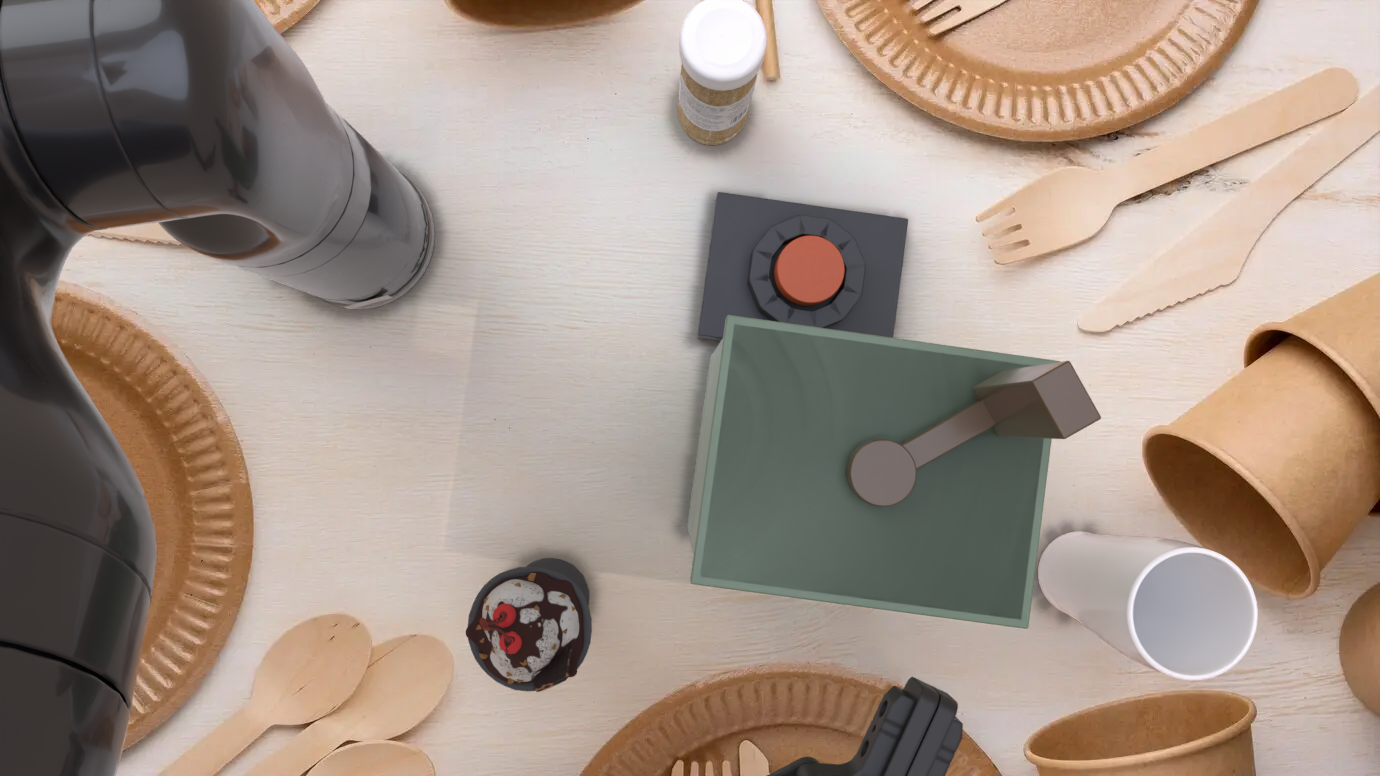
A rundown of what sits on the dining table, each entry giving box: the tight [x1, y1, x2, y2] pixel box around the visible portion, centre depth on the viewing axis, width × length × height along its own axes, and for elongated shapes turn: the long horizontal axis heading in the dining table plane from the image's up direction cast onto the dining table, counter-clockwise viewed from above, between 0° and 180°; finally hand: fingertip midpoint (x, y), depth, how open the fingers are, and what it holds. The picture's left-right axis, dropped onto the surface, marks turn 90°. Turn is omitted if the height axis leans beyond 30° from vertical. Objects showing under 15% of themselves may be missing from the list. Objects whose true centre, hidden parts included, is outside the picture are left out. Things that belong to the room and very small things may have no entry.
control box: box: [696, 191, 909, 342], centre depth 65 cm, size 12×9×4 cm
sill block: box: [686, 315, 1061, 630], centre depth 56 cm, size 15×12×22 cm
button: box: [774, 236, 845, 306], centre depth 63 cm, size 4×4×2 cm
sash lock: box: [846, 360, 1102, 507], centre depth 41 cm, size 8×3×8 cm, turn 119°
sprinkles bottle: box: [677, 0, 768, 146], centre depth 61 cm, size 5×5×14 cm
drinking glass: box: [1037, 530, 1259, 682], centre depth 60 cm, size 7×7×15 cm
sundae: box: [465, 557, 593, 693], centre depth 59 cm, size 7×7×15 cm
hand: (933, 689), depth 39 cm, fingers closed
